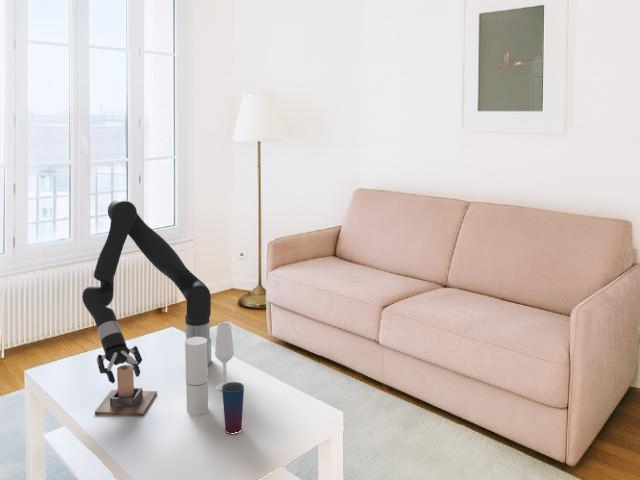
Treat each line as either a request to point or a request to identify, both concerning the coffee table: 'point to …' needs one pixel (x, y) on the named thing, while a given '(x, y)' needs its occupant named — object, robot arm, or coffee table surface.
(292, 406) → the coffee table surface
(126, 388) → the roll
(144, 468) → the coffee table surface
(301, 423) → the coffee table surface
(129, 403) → the holder
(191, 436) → the coffee table surface
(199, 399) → the cylindrical container
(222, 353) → the champagne flute
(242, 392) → the cup
